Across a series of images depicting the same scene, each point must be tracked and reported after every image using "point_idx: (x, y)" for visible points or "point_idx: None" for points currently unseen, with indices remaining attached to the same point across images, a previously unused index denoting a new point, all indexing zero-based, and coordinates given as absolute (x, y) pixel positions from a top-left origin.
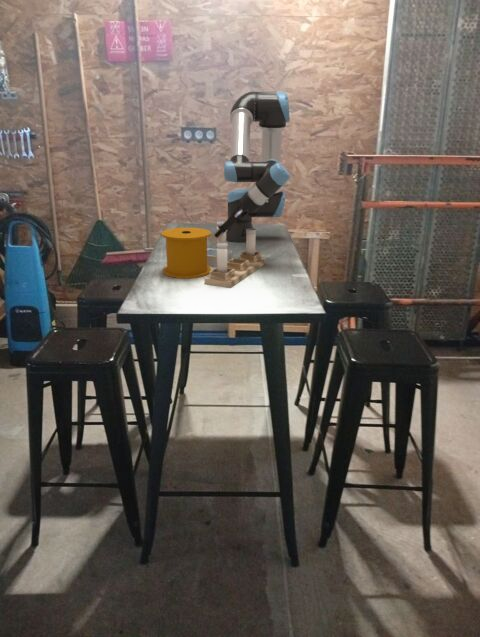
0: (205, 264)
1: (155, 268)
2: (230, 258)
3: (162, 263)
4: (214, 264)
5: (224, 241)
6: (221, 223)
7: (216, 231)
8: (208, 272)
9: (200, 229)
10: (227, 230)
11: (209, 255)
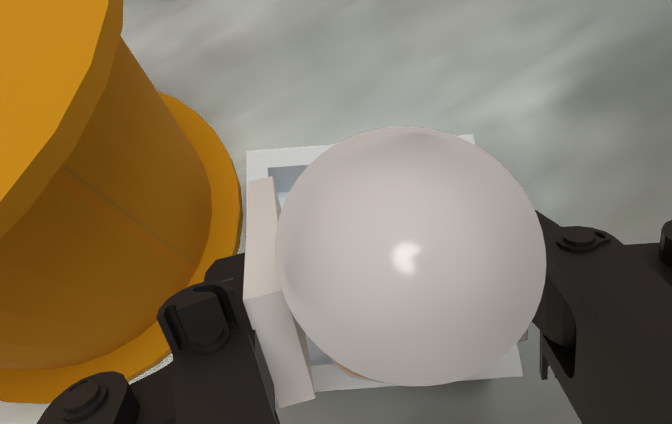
0: (20, 366)
1: None
2: None
3: (187, 19)
4: None
5: (351, 372)
6: (292, 310)
7: (246, 262)
8: (42, 402)
9: (13, 77)
10: (523, 338)
11: None
